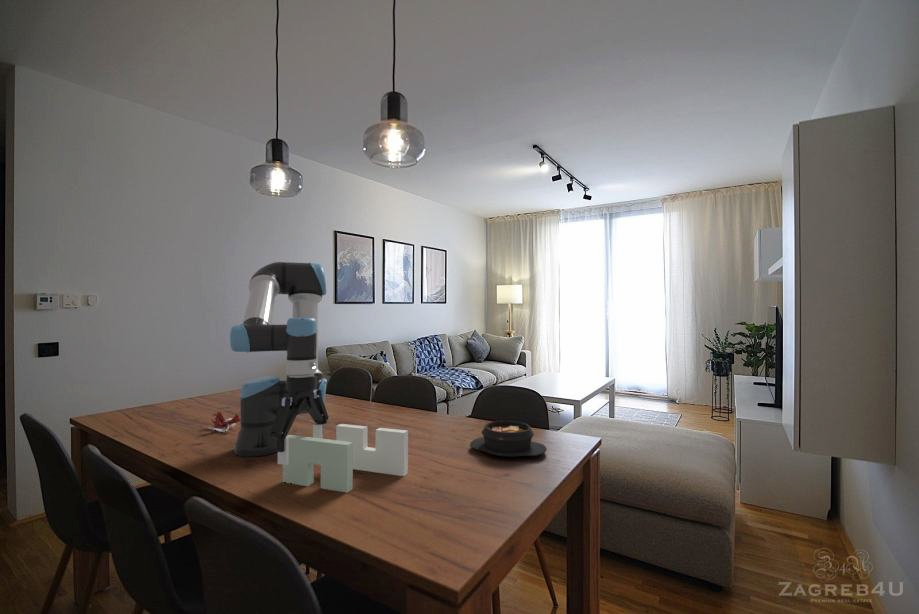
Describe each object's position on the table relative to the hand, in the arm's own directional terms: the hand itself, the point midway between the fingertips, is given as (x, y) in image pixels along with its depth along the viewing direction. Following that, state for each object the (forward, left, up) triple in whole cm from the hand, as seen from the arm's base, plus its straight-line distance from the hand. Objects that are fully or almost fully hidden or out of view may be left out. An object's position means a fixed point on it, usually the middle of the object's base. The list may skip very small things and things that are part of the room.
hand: (301, 455), depth 111 cm
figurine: (-61, +31, -8) cm, 69 cm away
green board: (+5, 0, -7) cm, 9 cm away
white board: (+13, +14, -7) cm, 21 cm away
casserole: (+47, +42, -8) cm, 64 cm away
